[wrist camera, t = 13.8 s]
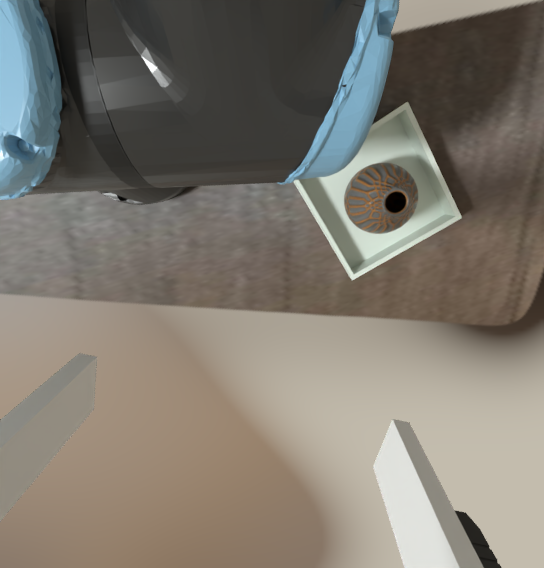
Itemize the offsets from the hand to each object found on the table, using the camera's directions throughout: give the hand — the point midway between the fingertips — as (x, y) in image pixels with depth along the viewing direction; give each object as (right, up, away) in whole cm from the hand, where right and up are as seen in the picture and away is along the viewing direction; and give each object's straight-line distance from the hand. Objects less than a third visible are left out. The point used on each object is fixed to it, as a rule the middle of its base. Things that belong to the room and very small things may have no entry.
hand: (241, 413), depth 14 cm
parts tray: (+12, +16, +23) cm, 30 cm away
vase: (+12, +15, +22) cm, 30 cm away
